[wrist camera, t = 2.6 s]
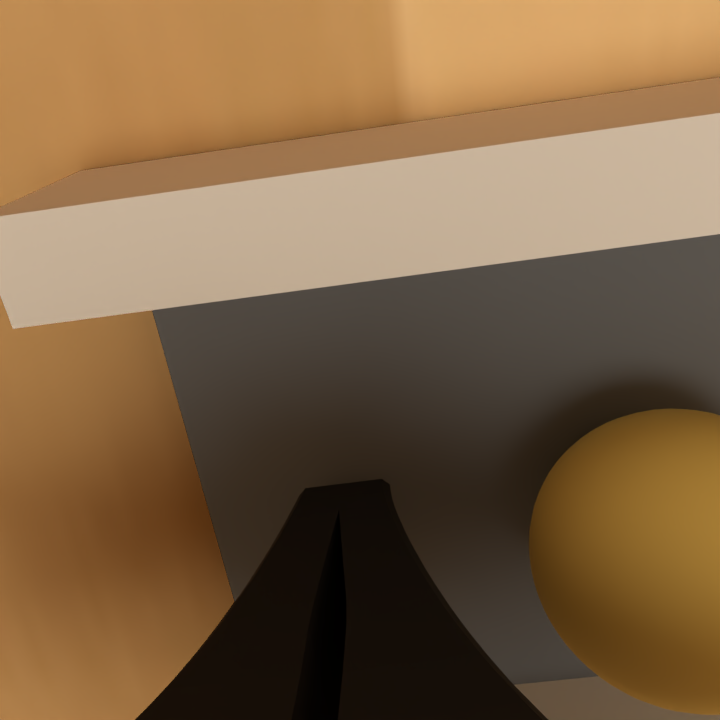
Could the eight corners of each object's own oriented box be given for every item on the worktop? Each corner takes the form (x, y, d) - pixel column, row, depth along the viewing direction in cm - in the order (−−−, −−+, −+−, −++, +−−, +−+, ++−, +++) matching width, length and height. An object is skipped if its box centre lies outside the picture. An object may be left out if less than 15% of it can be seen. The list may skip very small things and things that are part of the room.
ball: (739, 553, 12) (902, 771, 8) (510, 578, 12) (574, 801, 9) (762, 346, 10) (978, 507, 7) (497, 378, 11) (570, 551, 7)
